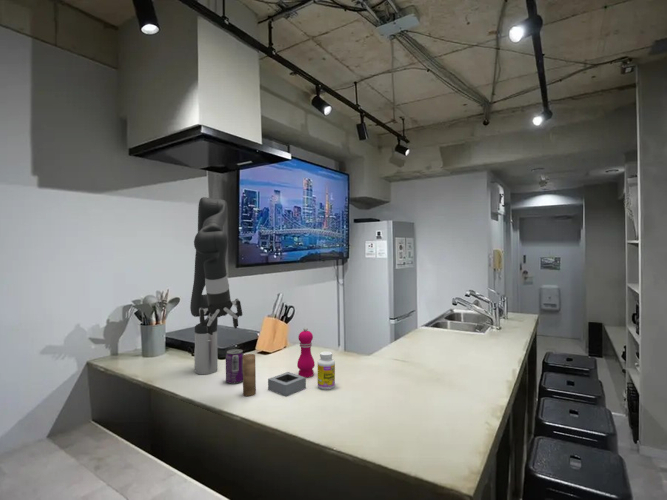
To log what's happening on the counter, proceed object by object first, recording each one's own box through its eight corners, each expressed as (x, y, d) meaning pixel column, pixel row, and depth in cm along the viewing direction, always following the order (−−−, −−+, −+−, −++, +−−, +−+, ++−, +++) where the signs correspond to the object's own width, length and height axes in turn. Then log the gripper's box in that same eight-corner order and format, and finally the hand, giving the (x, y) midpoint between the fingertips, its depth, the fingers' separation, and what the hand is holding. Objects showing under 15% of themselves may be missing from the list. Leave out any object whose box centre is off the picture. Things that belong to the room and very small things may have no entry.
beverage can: (247, 379, 147) (247, 350, 147) (236, 385, 140) (235, 354, 140) (234, 377, 150) (233, 348, 150) (222, 383, 143) (221, 352, 143)
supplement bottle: (322, 391, 134) (321, 356, 134) (314, 385, 140) (314, 352, 140) (338, 388, 137) (337, 354, 137) (330, 382, 143) (329, 349, 143)
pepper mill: (312, 378, 147) (311, 329, 147) (295, 377, 148) (294, 328, 148) (316, 372, 154) (316, 325, 154) (300, 371, 156) (299, 325, 155)
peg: (240, 394, 132) (240, 355, 132) (250, 390, 135) (250, 353, 135) (248, 397, 129) (247, 358, 129) (258, 393, 132) (257, 355, 132)
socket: (268, 389, 136) (268, 378, 136) (288, 381, 144) (288, 371, 144) (285, 396, 130) (285, 385, 130) (305, 388, 137) (305, 377, 137)
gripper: (235, 280, 131) (240, 321, 135) (193, 289, 124) (200, 331, 129) (241, 287, 124) (246, 329, 129) (198, 297, 118) (204, 341, 122)
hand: (223, 330), depth 129 cm, fingers open, 8 cm apart
